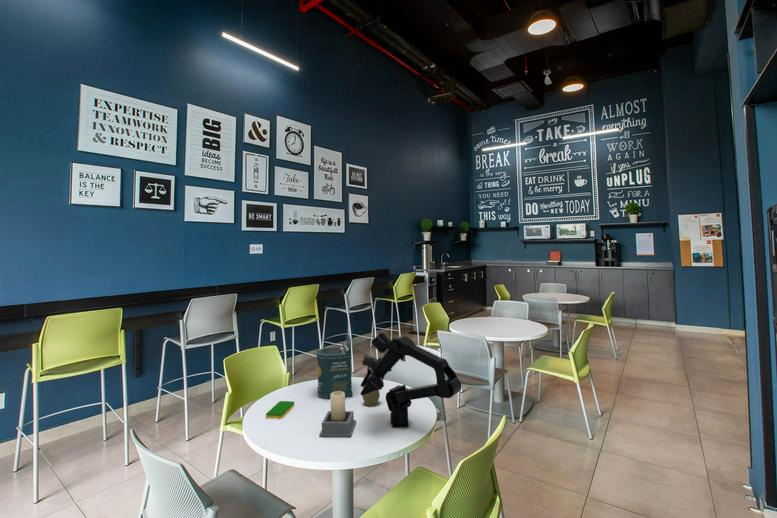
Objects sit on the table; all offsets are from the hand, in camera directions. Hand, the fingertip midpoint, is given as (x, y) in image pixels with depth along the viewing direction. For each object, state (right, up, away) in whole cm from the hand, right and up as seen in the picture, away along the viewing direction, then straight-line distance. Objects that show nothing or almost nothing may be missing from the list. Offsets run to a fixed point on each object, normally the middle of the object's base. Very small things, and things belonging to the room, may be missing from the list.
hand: (361, 390), depth 144 cm
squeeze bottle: (+3, -14, +20) cm, 24 cm away
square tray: (-9, -14, -4) cm, 17 cm away
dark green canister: (-16, -14, +34) cm, 40 cm away
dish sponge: (-36, -15, +14) cm, 42 cm away
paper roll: (-9, -13, -4) cm, 16 cm away
